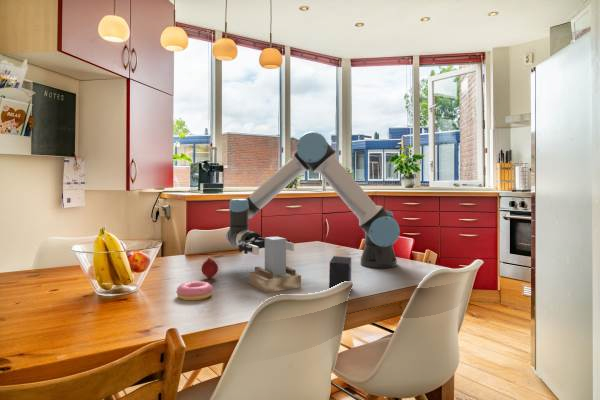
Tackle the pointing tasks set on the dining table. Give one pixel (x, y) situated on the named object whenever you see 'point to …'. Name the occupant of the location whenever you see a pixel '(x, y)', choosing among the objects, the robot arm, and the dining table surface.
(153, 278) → the dining table surface
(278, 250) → the tall grey prism
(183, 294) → the doughnut
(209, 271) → the onion
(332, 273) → the small box
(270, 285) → the stand
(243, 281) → the dining table surface
